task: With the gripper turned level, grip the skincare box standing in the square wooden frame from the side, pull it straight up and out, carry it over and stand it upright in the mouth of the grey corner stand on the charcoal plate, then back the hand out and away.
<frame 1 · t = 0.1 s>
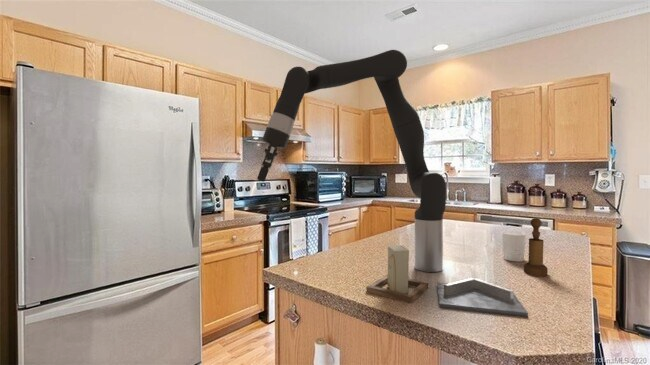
hand: (260, 180, 97), 31 cm above the counter, tool tilted 20°, fingers open, 8 cm apart
grey corner stand: (478, 303, 80), on the counter
mortar and pestle: (535, 273, 104), on the counter
square wooden frame: (397, 289, 90), on the counter
white cup: (513, 259, 121), on the counter
skincare box: (397, 290, 90), resting in square wooden frame
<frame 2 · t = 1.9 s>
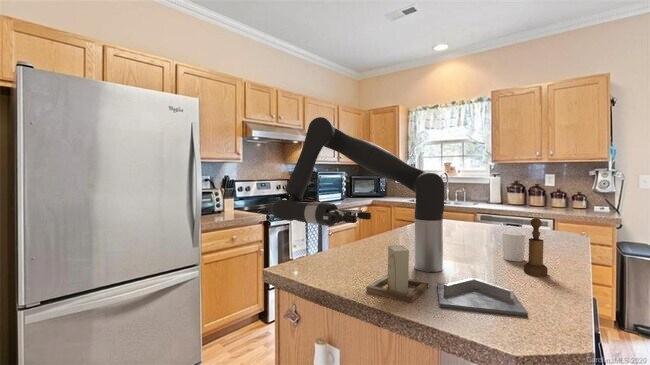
hand: (363, 217, 97), 20 cm above the counter, tool horizontal, fingers open, 8 cm apart
nothing on the counter moved.
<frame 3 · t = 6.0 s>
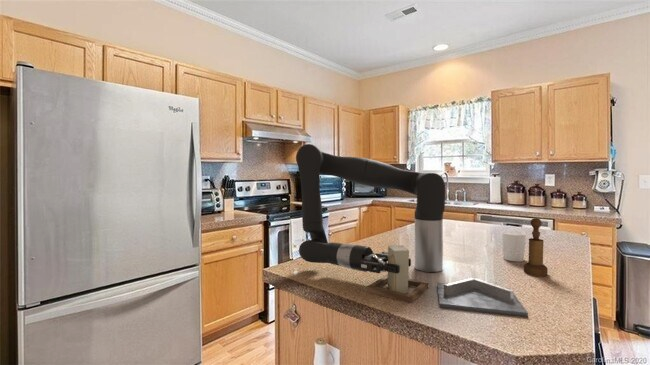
hand: (404, 265, 89), 7 cm above the counter, tool horizontal, fingers closed on skincare box, 7 cm apart
skincare box: (397, 290, 90), resting in square wooden frame, touching gripper
everything else where it was.
when the fingers open (9 cm above the counter, at t = 13.0 s): skincare box stays where it is, resting on grey corner stand.
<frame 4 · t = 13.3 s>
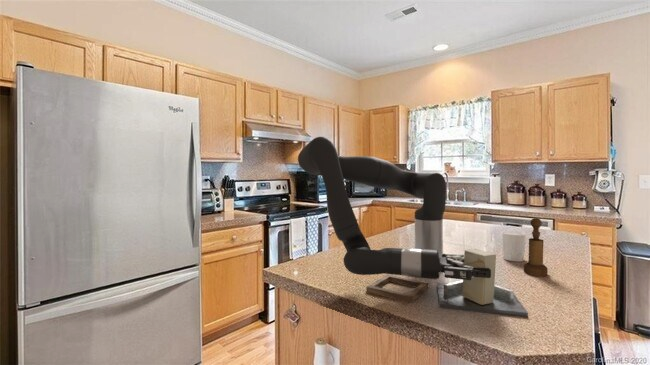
hand: (487, 268, 80), 9 cm above the counter, tool horizontal, fingers open, 8 cm apart
skincare box: (478, 300, 80), point 1 cm above the counter, touching grey corner stand
everything else where it was.
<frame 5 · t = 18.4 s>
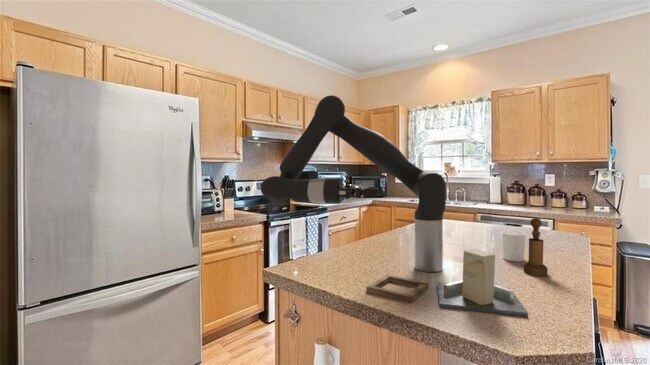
hand: (380, 191, 90), 28 cm above the counter, tool horizontal, fingers open, 8 cm apart
nothing on the counter moved.
at the end: skincare box 0.1 cm off-centre on the grey corner stand, point 0.8 cm above the grey corner stand's base; skincare box tilted 0°; the gripper is holding nothing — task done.
